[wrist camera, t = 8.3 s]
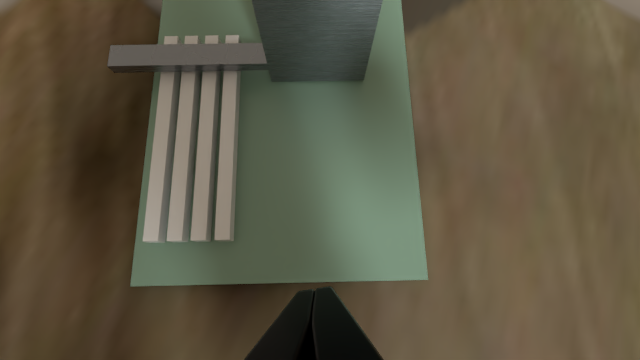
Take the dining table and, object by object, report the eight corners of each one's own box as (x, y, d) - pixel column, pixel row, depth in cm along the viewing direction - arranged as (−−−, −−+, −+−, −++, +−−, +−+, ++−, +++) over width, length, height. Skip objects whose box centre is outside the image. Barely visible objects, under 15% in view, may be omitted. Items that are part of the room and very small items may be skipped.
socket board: (423, 279, 17) (455, 281, 13) (138, 285, 17) (82, 290, 13) (395, -20, 22) (412, -86, 18) (171, -16, 22) (136, -83, 18)
